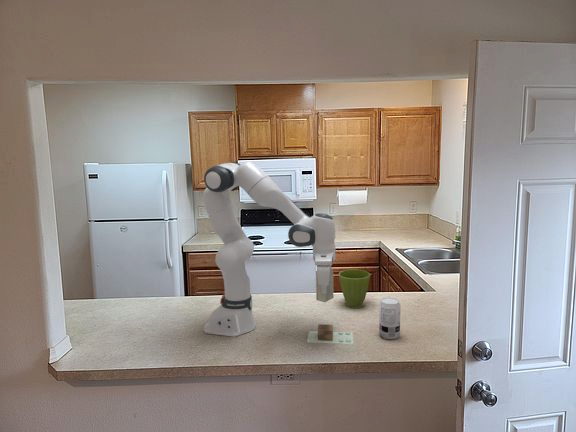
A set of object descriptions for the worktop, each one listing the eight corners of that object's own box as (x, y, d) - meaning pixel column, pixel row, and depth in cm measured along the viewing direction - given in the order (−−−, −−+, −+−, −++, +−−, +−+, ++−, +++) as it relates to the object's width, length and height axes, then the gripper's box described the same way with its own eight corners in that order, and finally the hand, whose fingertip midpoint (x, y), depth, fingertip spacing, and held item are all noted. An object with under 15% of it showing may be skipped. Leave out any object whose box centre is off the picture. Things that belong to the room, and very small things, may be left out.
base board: (307, 345, 159) (307, 340, 159) (309, 334, 169) (309, 329, 169) (353, 347, 157) (353, 342, 157) (352, 335, 167) (352, 330, 167)
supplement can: (375, 333, 169) (375, 299, 166) (392, 329, 171) (392, 296, 169) (386, 341, 161) (387, 306, 159) (404, 337, 164) (404, 302, 161)
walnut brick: (317, 340, 161) (317, 330, 160) (318, 333, 167) (318, 324, 166) (332, 340, 160) (332, 331, 159) (333, 333, 166) (332, 324, 165)
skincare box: (324, 296, 164) (324, 267, 163) (334, 298, 161) (333, 268, 160) (315, 300, 160) (315, 270, 158) (325, 302, 157) (324, 272, 155)
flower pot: (332, 305, 200) (332, 274, 197) (351, 297, 209) (351, 267, 207) (356, 313, 189) (356, 280, 186) (375, 304, 199) (376, 273, 196)
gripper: (317, 248, 168) (318, 280, 170) (314, 262, 148) (315, 298, 150) (332, 248, 167) (333, 280, 170) (331, 262, 147) (332, 298, 150)
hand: (324, 289), depth 160 cm, fingers closed on skincare box, 7 cm apart
